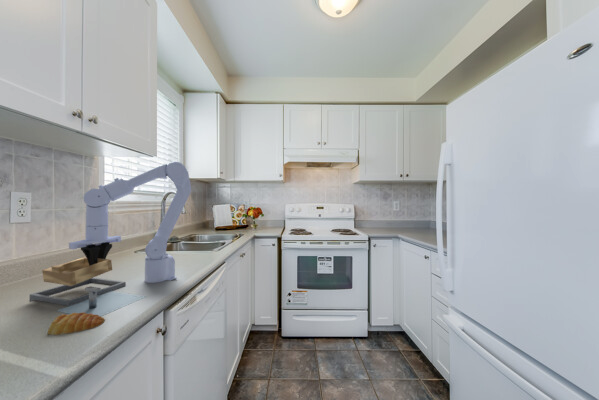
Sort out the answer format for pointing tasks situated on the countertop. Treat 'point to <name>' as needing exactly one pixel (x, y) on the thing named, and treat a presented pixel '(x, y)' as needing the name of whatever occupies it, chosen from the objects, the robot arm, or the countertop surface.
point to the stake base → (103, 303)
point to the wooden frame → (76, 271)
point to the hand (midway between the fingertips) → (96, 266)
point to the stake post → (92, 296)
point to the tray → (47, 293)
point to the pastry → (74, 323)
